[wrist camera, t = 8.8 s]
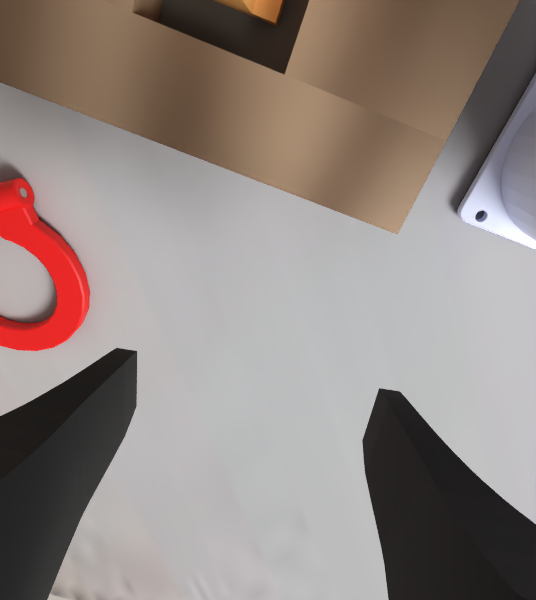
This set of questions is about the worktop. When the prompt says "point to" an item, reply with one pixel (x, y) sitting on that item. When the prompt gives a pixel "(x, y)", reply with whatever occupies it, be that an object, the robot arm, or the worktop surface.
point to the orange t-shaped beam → (258, 8)
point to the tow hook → (59, 262)
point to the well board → (269, 84)
